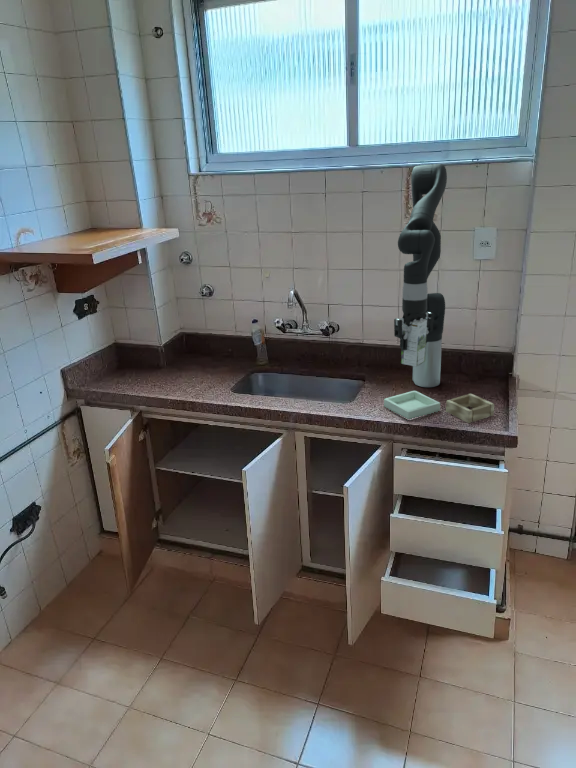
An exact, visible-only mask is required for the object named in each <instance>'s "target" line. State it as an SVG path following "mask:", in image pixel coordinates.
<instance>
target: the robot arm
mask: <svg viewBox="0 0 576 768" xmlns="http://www.w3.org/2000/svg"><path fill="white" fill-rule="evenodd" d="M447 172H448V171H447V168H446V166H445V165H444V164H441V163H434V164H433V163H432V164H422V165H415V166H413V168H412V171H411V178H410V179H411V180H410V181H411V198H412V199H411V200H412V209H411V213H410V215H409V216H410V217H409V221H408V223H407V224H406V225H405V227H404V228H403V229H402V231H400V234H399V236H398V240H397V248H398V250H399V251H400V252H401V254H404V255H412V261H409V262H406V263H405V264H404V266H403V285H402V295H401V297H402V298H401V299H402V302H401V303H402V306H401V307H402V308H401V311H402V314H403V315H402V316H401V318H396V317H395V318H394V319H393V327H394V329H393V333H394V337H395V338H398V339H399V347H400V349H402V350H407V339H406V338H407V336H408V334H409V333H410V332H411V330H412V323H413V322H416V321H417V320H419V321H423V319H426V320H427V326H426V327H427V330H426V349H425V362H423V363H422V364H420V365H418V366H417V367H416V366H412V381H413V383H414V384H415V385H416V386H419V387H422V388H435V387H437V386H439V385H440V384H441V369H442V368H441V367H442V365H441V364H442V344H443V343H442V340H443V333H444V324H445V314H446V300H445V296H444V295H443V293H440V292H431V293H428V278H429V276H430V274H431V273H432V271H433V270H434V268H435V267H436V264H437V263H438V262H439V259H440V256H441V254H442V253H441V251H442V250H441V249H442V245H441V244H442V241H441V239H442V236H441V232H440V230H439V228H438V226H437V225H436V223H435V222H434V218H435V214H436V211H437V208H438V206H439V205H440V202H441V200H442V198H443V195H444V192H445V190H446V188H447V181H448V180H447V179H448V174H447ZM423 195H424V196H423ZM403 322H404V324H405V323H406V324H407V326H408V327H409V328H408V329H405V328H402V325H403ZM410 322H412V323H411V324H410ZM404 331H405V334H404Z"/></svg>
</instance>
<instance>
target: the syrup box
mask: <svg viewBox="0 0 576 768" xmlns="http://www.w3.org/2000/svg"><path fill="white" fill-rule="evenodd" d="M411 323H412V322H410V324H411ZM426 326H427V320H426V319H423V321H419V320H417V321H416V322H413V323H412V330H411V332H410V333H409V334H408V336H407V338H406V339H407V350H402V349H401V348H400V349H401V351H400V352H401V353H400V355H401V356H400V358H401V359H400V360H401V361H400V364H402V365H407V366H411V367H413V366H416V367H417V366H418V365H420V364H422V363H423V362H425V349H426V330H427V327H426ZM402 328H405V329H408V328H409V327H408V326H407V324H406V323H405V324H404V322H403V325H402ZM404 334H405V331H404Z"/></svg>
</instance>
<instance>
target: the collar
mask: <svg viewBox="0 0 576 768" xmlns="http://www.w3.org/2000/svg"><path fill="white" fill-rule="evenodd" d="M445 403H446V405H445V413H447V412H448V414H449V413H450V414H449V415H451V414H452V416H453V415H454V416H453V417H455V416H456V417H455V418H457V417H458V418H457V419H459V420H462V421H463V422H466V423H467V424H471V423H472V422H473V423H474V422H478V421H481V420H483V419H486V418H489V417H492V416H494V414H495V413H494V412H495V403H493V402H491V401H489V400H487V399H485V398H482V397H480V396H478V395H476V394H473V393H468V394H464V395H460V396H458V397H453V398H451V399H446V402H445ZM469 407H471V409H469Z"/></svg>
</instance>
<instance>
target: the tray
mask: <svg viewBox="0 0 576 768" xmlns="http://www.w3.org/2000/svg"><path fill="white" fill-rule="evenodd" d="M385 407H386V408H385ZM383 408H385V409H387V408H388V409H389V411H390V410H391V411H390V412H392V411H393V412H392V413H394V412H395V413H397V414H399V415H401V416H403V417H405V418H407V419H412V418H415V417H419V416H423V415H426V416H428V415H427V414H430V415H432V414H431V413H433V414H435V413H434V412H436V413H439V412H438V411H440V412H441V402H439V401H438V400H436V399H433V398H432V397H429V396H427V395H425V394H423V393H421V392H419V391H417V390H410V391H407V392H404V393H400V394H397V395H393V396H389V397H387V398H384V399H383ZM388 409H387V410H388ZM395 413H394V414H395ZM397 414H396V415H397ZM399 415H398V416H399ZM401 416H400V417H401ZM423 417H424V416H423Z"/></svg>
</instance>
